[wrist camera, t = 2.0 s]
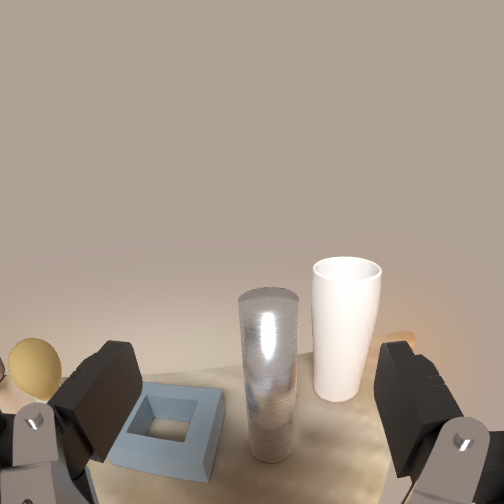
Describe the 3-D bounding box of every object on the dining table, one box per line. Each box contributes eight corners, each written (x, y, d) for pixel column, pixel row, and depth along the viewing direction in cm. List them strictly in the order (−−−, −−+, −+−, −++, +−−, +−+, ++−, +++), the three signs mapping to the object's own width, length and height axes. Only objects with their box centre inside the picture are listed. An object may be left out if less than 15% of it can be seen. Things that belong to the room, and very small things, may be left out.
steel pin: (248, 462, 24) (234, 313, 19) (252, 432, 28) (242, 287, 23) (293, 463, 23) (300, 313, 19) (293, 432, 27) (297, 286, 23)
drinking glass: (358, 370, 36) (372, 255, 31) (369, 406, 29) (392, 279, 25) (305, 372, 36) (308, 256, 32) (308, 411, 30) (315, 282, 26)
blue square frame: (111, 464, 22) (99, 442, 21) (143, 403, 32) (135, 380, 31) (208, 483, 21) (202, 462, 20) (225, 411, 31) (221, 388, 30)
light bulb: (27, 424, 25) (-10, 355, 22) (48, 392, 31) (20, 326, 28) (68, 435, 25) (31, 362, 22) (87, 399, 31) (60, 329, 28)
